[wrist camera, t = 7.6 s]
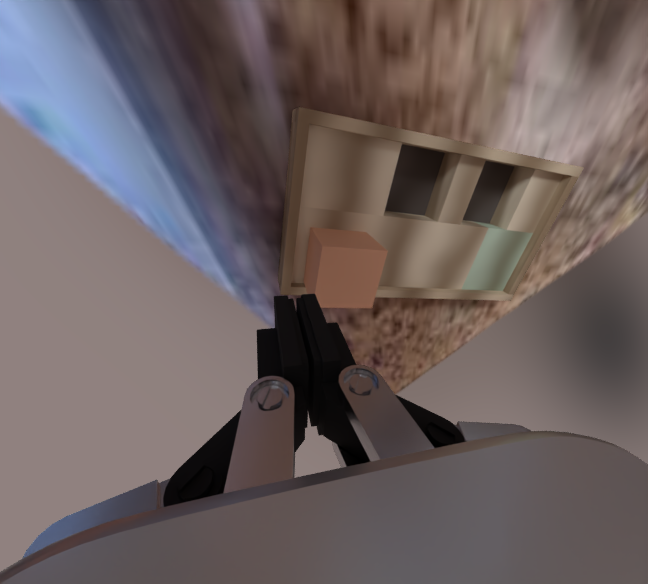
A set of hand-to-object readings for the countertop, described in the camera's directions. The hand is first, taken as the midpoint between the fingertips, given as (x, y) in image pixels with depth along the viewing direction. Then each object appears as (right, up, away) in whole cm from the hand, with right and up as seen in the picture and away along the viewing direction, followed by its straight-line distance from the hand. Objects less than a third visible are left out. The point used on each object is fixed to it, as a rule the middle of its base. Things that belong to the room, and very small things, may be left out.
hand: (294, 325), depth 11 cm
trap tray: (+10, +8, +16) cm, 21 cm away
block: (+2, +4, +13) cm, 14 cm away
